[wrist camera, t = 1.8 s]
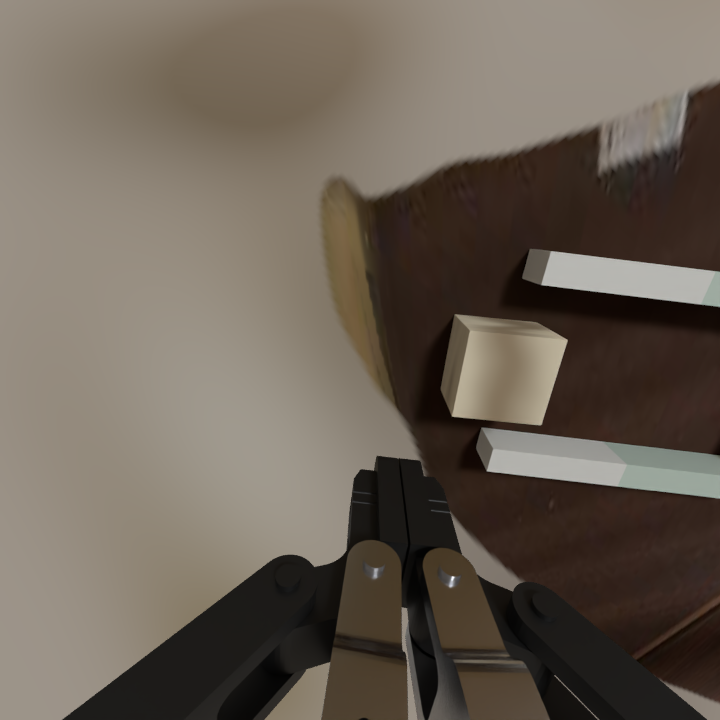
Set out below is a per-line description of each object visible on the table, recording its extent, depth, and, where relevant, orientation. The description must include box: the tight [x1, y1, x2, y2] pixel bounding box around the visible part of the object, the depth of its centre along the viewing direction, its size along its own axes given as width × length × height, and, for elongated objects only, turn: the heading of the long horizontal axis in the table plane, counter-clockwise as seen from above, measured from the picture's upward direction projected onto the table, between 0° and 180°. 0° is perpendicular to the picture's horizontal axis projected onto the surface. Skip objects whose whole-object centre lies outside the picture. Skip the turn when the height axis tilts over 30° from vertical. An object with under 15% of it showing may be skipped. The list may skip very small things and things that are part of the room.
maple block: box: [441, 314, 568, 425], centre depth 25 cm, size 6×6×4 cm
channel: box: [476, 249, 720, 498], centre depth 25 cm, size 22×16×3 cm
